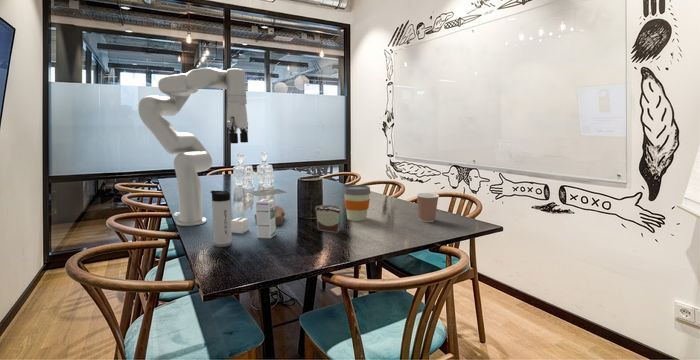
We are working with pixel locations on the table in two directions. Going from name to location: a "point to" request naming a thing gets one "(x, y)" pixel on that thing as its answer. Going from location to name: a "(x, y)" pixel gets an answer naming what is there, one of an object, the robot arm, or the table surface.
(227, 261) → the table surface
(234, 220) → the white block
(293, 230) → the table surface
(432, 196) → the coffee cup
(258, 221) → the syrup box
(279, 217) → the wooden toy blocks
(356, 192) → the reusable coffee cup
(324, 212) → the food container
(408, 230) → the table surface
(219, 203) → the travel mug
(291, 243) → the table surface
